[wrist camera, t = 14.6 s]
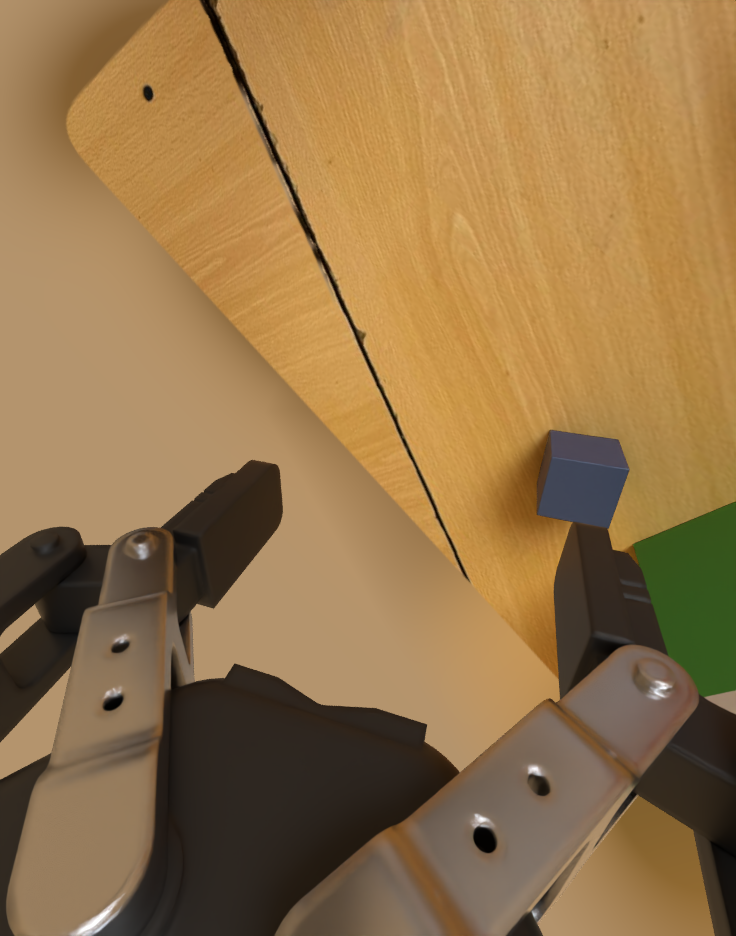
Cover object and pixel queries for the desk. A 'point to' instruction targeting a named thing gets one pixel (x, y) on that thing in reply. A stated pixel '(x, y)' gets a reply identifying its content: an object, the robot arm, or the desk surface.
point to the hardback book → (697, 598)
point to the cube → (581, 478)
